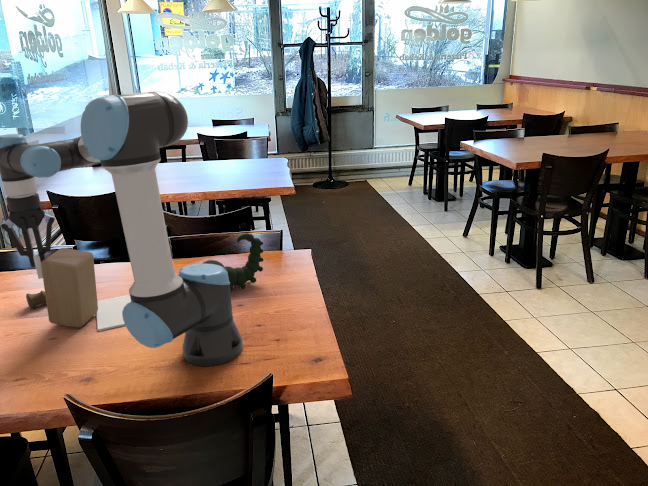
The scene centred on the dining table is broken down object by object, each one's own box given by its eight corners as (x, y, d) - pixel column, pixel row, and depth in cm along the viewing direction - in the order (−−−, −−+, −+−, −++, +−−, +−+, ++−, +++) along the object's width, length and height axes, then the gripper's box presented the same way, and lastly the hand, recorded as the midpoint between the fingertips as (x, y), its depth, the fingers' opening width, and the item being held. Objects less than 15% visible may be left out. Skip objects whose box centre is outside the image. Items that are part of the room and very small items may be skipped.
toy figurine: (255, 280, 178) (183, 292, 165) (255, 227, 172) (181, 236, 160) (267, 290, 170) (192, 303, 158) (267, 235, 165) (190, 244, 152)
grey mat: (160, 317, 151) (160, 315, 151) (98, 331, 145) (97, 329, 144) (152, 291, 168) (151, 290, 168) (96, 302, 162) (95, 301, 162)
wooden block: (68, 306, 155) (61, 246, 147) (99, 311, 155) (94, 251, 146) (47, 323, 146) (38, 261, 138) (81, 329, 146) (74, 266, 137)
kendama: (27, 304, 164) (92, 285, 174) (32, 316, 156) (100, 296, 167) (22, 288, 161) (89, 269, 172) (27, 299, 154) (96, 279, 165)
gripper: (50, 188, 141) (67, 267, 149) (-5, 194, 136) (16, 276, 144) (48, 194, 135) (67, 276, 143) (-9, 201, 130) (13, 286, 138)
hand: (41, 276), depth 143 cm, fingers closed
